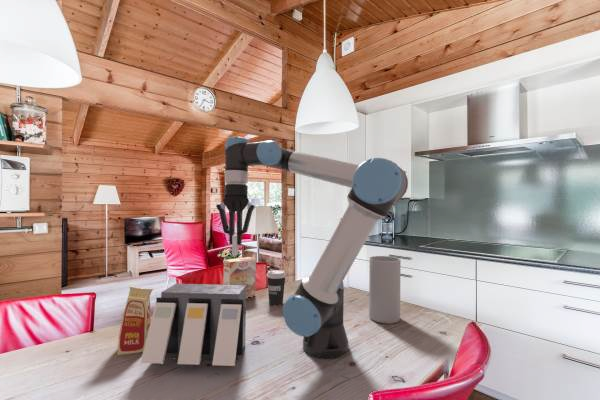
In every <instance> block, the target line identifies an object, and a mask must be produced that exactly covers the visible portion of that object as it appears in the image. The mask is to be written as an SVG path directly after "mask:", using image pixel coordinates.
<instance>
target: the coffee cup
mask: <svg viewBox="0 0 600 400" xmlns="http://www.w3.org/2000/svg"><path fill="white" fill-rule="evenodd" d="M286 277H287V274H286V273H285V271H284V270H280V269H273V270H268V272H267V273H266V278H267V279H266V280H267V290H268V303H269V305H270V306H274V305H277V306H281V305H284V293H285V284H286V283H285V282H286Z"/></svg>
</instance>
